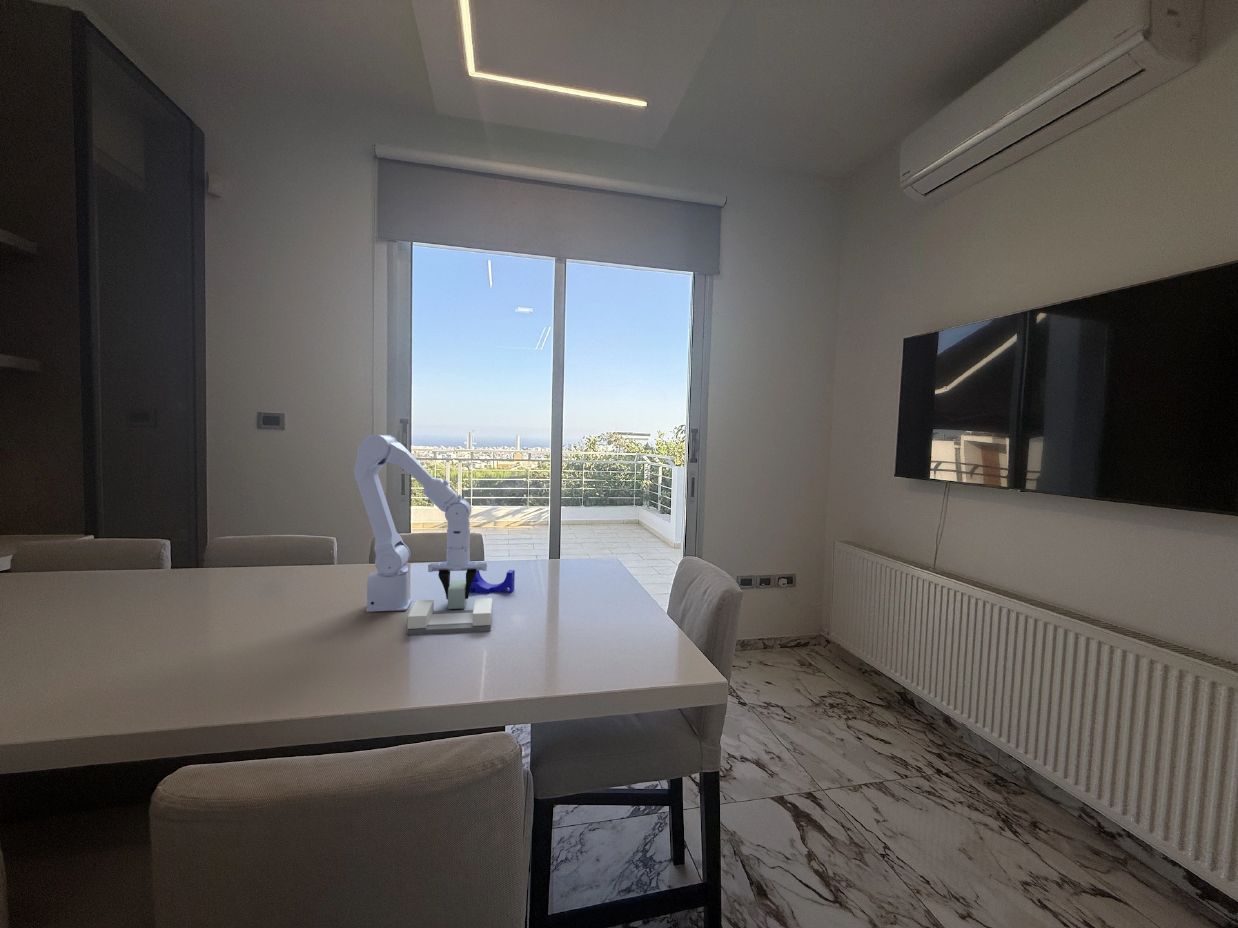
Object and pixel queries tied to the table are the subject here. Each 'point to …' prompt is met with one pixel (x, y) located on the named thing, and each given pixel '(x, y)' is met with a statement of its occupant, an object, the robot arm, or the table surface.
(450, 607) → the block
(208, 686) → the table surface
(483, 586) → the blue cradle bracket
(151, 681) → the table surface
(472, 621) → the white and grey fixture
